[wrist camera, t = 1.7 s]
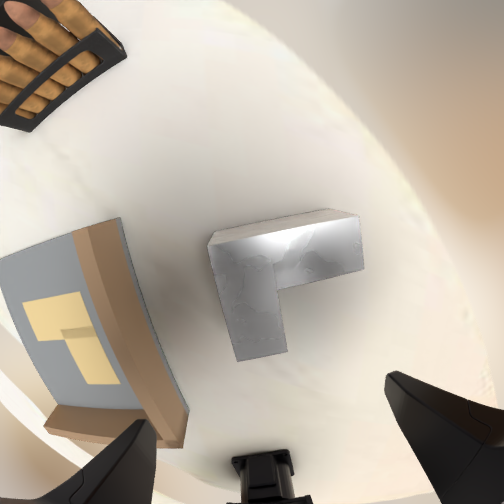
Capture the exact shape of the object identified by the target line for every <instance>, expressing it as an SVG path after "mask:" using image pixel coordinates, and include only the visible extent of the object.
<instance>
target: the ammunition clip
mask: <svg viewBox="0 0 504 504" xmlns="http://www.w3.org/2000/svg"><path fill="white" fill-rule="evenodd" d="M41 1H42V3H44V4H45V5H46V6H47V7H48V8H49V10H50V11H51V12H52V13H53V14H54V15H55V16H56V18H57V19H58V21H59V22H60V23H61V24H62V25H63V26H64V27H66V28H67V29H68V30H69V31H70V32H69V31H68V30H66V29H65V28H64V27H63V26H61V25H60V24H59V23H58V22H57V21H55V20H53V19H51V18H48V17H46V16H45V15H43V14H42V13H40V12H38V11H36V10H35V9H34V8H32V7H30V6H28V5H26V4H23V3H20V2H16V1H6V2H5V3H4V7H5V10H6V12H7V14H8V15H9V16H10V18H11V19H12V20H13V21H14V22H15V23H16V24H18V25H19V26H21V27H22V28H24V30H25V31H27V32H28V33H29V34H31V35H32V37H33V38H34V39H35V40H36V41H35V40H33V39H31V38H28V37H24V36H22V35H20V34H18V33H15V32H13V31H11V30H9V29H6V28H3V27H0V49H1V50H3V51H4V52H6V53H8V54H9V55H11V56H12V57H9V56H3V55H0V125H1V126H6V127H10V128H14V129H18V130H22V131H26V132H31V131H32V130H33V129H35V128H36V127H37V126H38V125H39V124H40V123H41V122H42V121H43V120H44V119H45V118H46V117H47V116H48V115H49V114H51V113H52V112H53V111H54V110H55V109H56V108H57V107H59V106H60V105H61V104H62V103H63V102H65V101H66V100H67V99H68V98H69V97H71V96H72V95H73V94H75V93H76V92H77V91H78V90H80V89H81V88H82V87H84V86H85V85H86V84H88V83H89V82H91V81H92V80H93V79H95V78H96V77H98V76H99V75H101V74H102V73H104V72H105V71H107V70H108V69H110V68H111V67H113V66H114V65H116V64H117V63H119V62H121V61H122V60H124V59H126V58H127V55H126V52H125V50H124V47H123V45H122V43H121V42H120V41H119V40H118V39H117V38H116V37H115V36H114V35H113V34H112V33H111V32H110V31H109V30H108V29H107V28H106V27H105V26H103V25H102V24H101V23H100V22H99V21H98V20H97V19H96V18H95V17H94V16H92V15H91V14H90V13H89V12H88V10H87V9H86V8H85V7H84V6H83V5H82V4H81V3H80V2H79V1H77V0H41ZM77 38H78V39H79V40H78V39H77Z"/></svg>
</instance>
